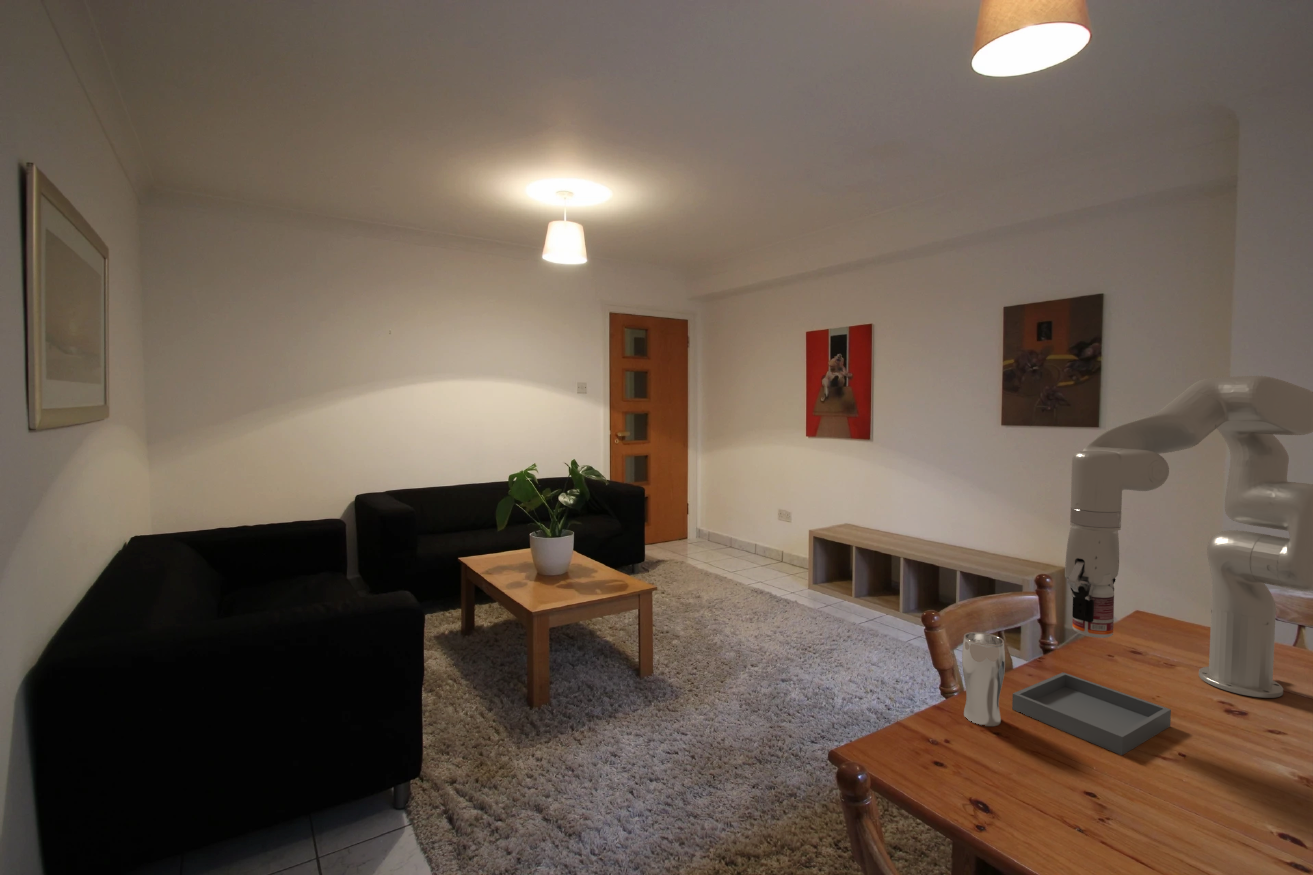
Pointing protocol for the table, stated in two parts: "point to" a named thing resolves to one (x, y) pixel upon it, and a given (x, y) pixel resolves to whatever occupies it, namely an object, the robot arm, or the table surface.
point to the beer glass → (983, 677)
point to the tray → (1092, 712)
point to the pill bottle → (1099, 611)
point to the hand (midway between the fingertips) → (1092, 615)
